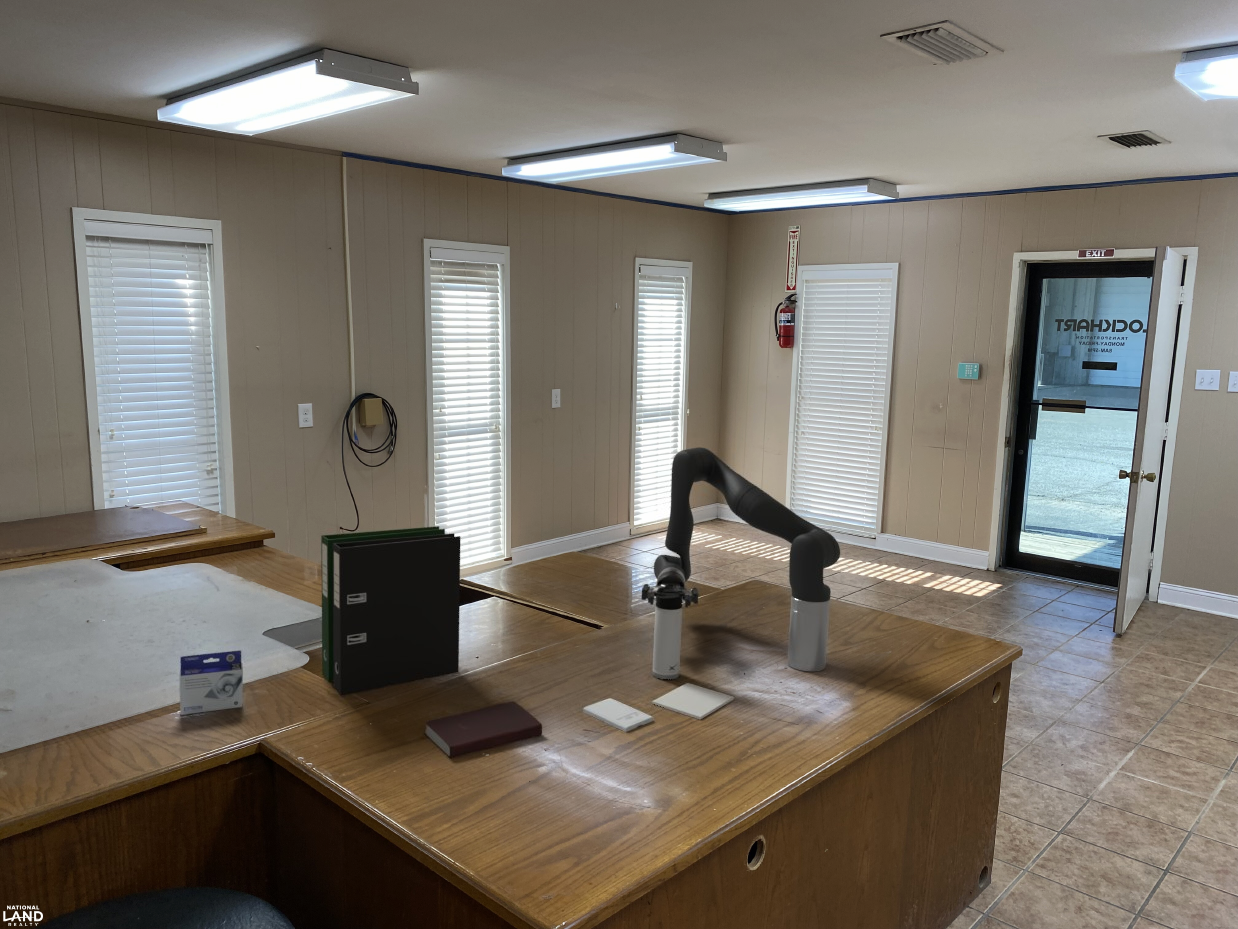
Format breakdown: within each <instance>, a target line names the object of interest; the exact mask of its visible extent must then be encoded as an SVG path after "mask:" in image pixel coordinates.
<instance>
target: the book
mask: <svg viewBox="0 0 1238 929" xmlns="http://www.w3.org/2000/svg"><path fill="white" fill-rule="evenodd" d="M424 724H425V725H426V728H425V732H424V733H423V734H424V735H427V737H428V738H429V739H431V741H432V742H434V743H435V744H436V745H437V747H439V749H441V750H442V751H443V752H444V753H445V754H446V755H447V756H448V759H452V758H457V757H461V756H466V755H469V754H472V753H477V752H481V751H483V750H484V751H485V750H489V749H492V748H497V747H501V746H505V745H509V744H512V743H517V742H520V741H524V740H529V739H533V738H534V739H535V738H537V737H541V736H542V735H543V724H542V723H541V722H540V721H539V720H538V719H537V718H536V717H535V716H534V715H532V714H531V713H530V712H529V711H528V710H526V709H525V708H524V707H523V706H522V705H520V704H518V703H517V702H515V701H507V702H503V703H497V704H494V705H489V706H485V707H483V708H478V709H474V710H473V709H472V710H469V711H466V712H460V713H457V714H453V715H448V716H444V717H439V718H436V719H431V720H427V721H425V722H424Z"/></svg>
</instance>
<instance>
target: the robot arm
mask: <svg viewBox="0 0 1238 929" xmlns="http://www.w3.org/2000/svg"><path fill="white" fill-rule="evenodd" d="M670 482H671V483H670V484H671V485H670V486H671V487H670V490H671V491H670V514H669V518H668V519H669V520H668V525H667V530H666V534H665V540H664V541H665V542H664V547H666V549H667V550H669V551H671V552H672V553H675V554H676V555H678V556H675V555H669V554H660V555H659V556H657V557H656V558H655V560H654V563H653V574H654V576H655V578H656V579H657V580H656V585H655V586H654V587H651V586H650V585H649V584H648V583H644V584H643V587H642V589H641V597H640V598H641V600H643V601H645V600H647V603H648V604H650V605H651V606H653V605H654V601H655V602H656V596H657V595H658V594H659V593H662V592H669V591H676V592H683V593H684V597H683V596H682V604H684V607H685V609H686V608H688V607H691V605H692V603H693V604H695V605H697V604H699V597H700V596H699V590H698V588H697V587H692V588H691V589H687V588H686V582H687V581H688V580H689V579H690V577H691V575H692V565H691V564H692V563H691V559H690V558H691V557H690V553H691V552H690V550H691V549H690V548H691V542H692V536H693V532H694V524H695V522H694V516H693V512H692V508H691V505H690V504H691V502H690V497H691V492H692V488H693V485H694V483H699V482H706V483H707V484H709V485H711V486H712V487H714V488H715V489H716V490H718V491H719V492H720V493H721V494H722V496H723V497H724V499H725V501H726V504H727V506H728V507H729V510H730V511H731V512H732V513H733V514H734V515H735V516H737V517H738V518H740V519H741V520H742V521H743V522H745V523H746V524H748V525H749V526H751V527H752V528H754V529H756V530H759V531H762V532H764V533H765V534H770V535H771V536H775V537H777V538H780V539H783V540H785V541H786V542H788V543H790V544H791V545H790V549H789V562H788V563H789V564H788V567H789V570H788V573H789V574H788V575H789V576H788V579H789V582H788V583H789V585H790V588H791V596H790V597H791V598H790V613H789V631H788V645H787V661H786V663H787V665H788V666H789V667H790V668H793V669H795V670H799V671H804V672H820V671H823V670H824V669H826V662H827V650H828V649H827V648H828V639H829V638H828V636H829V635H828V634H829V622H830V621H829V620H830V607H831V587H830V586H828V585H827V584H825V583H824V569H826V568H829V567H831V566H834V565H835V564H836V563H837V562H838V561H839V559H840V557H841V547H840V544H839V542H838V541H837V539H836V538H835V537H834V535H832V534H831V533H829V532H828V531H827V530H825V529H823V528H821V527H819V526H817V525H815V524H814V523H812V522H810V521H808V520H806V519H804V518H802V517H801V516H799V515H798V514H797V513H795V512H793V511H792V510H791V509H789V508H788V507H787V506H785V505H784V504H782V503H781V502H779V501H778V499H775V498H774V497H772V496H771V495H770V494H769V493H767V492H766V491H764V489H763V490H762V488H760V487H759V486H757V485H755V484H754V483H752V482H750V480H748V479H747V478H745V477H743V475H741V474H739V473H737V472H736V471H734V469H732V468H731V467H730V466H729V465H728V464H726V463H725V462H724V461H723V460H722V459H721V458H719V457H718V456H717V455H716V454H715V453H714V452H712V450H709V449H708V448H706V447H693V448H687V449H682V450H680V451H678V452H677V453H676V454H675V455H674V457H673V461H672V465H671V481H670Z"/></svg>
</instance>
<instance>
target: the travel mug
mask: <svg viewBox="0 0 1238 929" xmlns="http://www.w3.org/2000/svg"><path fill="white" fill-rule="evenodd" d="M682 596H683V597H684V593H683V592H676V591H669V592H662V593H659V594H658V595H657V596H656V601H655V604H654V605H655V608H654V610H655V611H654V628H653V630H654V632H653V651H652V652H653V653H652V673H651V674H652V676H653V675H654V676H655V678H656V679H658V678H660V679H659V680H663V679H668V680H667V681H670V680H671V679H672V680H675V679H677V678H679V676H680V666H681V665H680V663H681V662H680V661H681V643H682V642H681V640H682V626H683V625H682V624H683V622H682V621H683V620H682V619H683V603H682ZM654 676H653V677H654ZM669 679H670V680H669ZM672 680H671V681H672Z"/></svg>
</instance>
